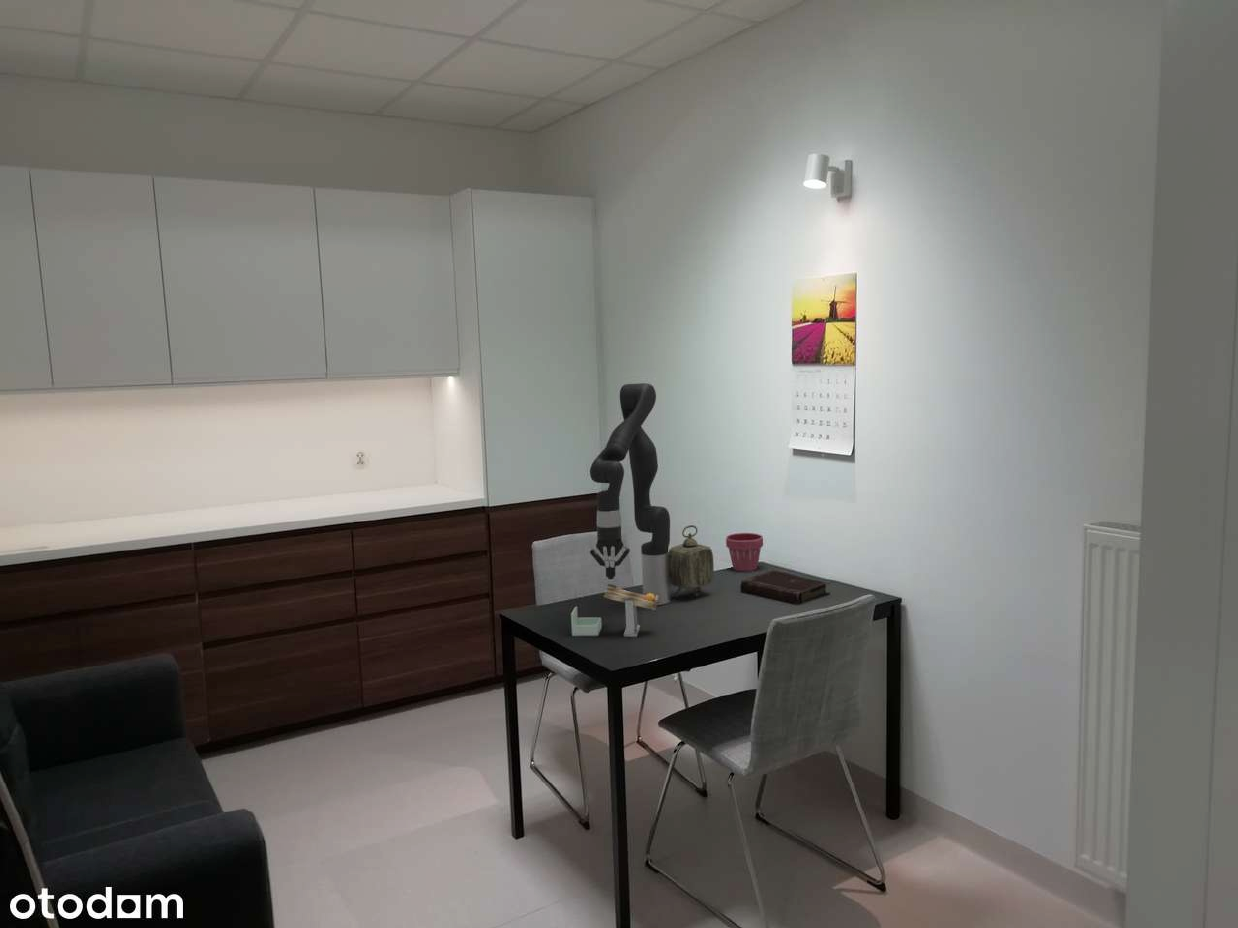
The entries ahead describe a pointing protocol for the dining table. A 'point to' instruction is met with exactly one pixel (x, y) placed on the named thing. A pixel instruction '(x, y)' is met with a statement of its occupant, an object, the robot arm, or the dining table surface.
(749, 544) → the plant pot
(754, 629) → the dining table surface
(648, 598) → the ball
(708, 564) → the tabletop clock
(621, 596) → the lever
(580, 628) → the pale green cubby shelf
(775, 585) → the diary
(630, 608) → the fulcrum
